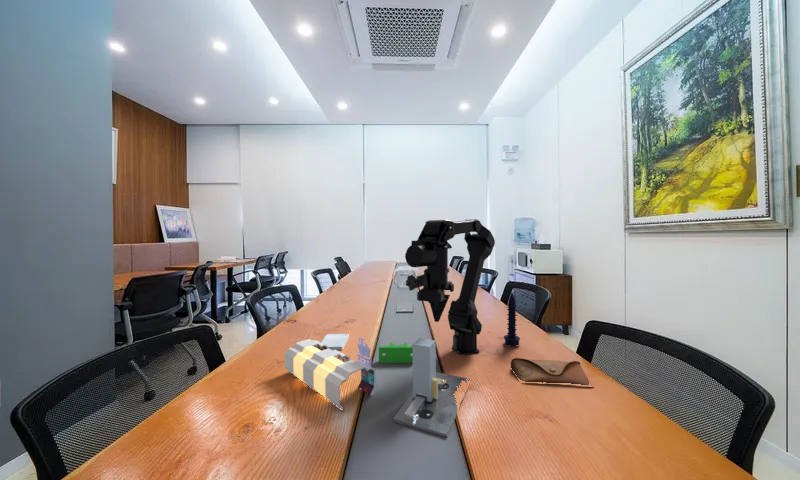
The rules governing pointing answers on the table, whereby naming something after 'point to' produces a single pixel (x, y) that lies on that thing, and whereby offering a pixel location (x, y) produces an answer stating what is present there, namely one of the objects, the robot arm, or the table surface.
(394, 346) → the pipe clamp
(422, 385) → the gray rectangular block
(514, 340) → the screw
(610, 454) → the table surface
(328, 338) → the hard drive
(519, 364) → the sunglasses case
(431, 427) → the flange plate
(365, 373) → the diorama
